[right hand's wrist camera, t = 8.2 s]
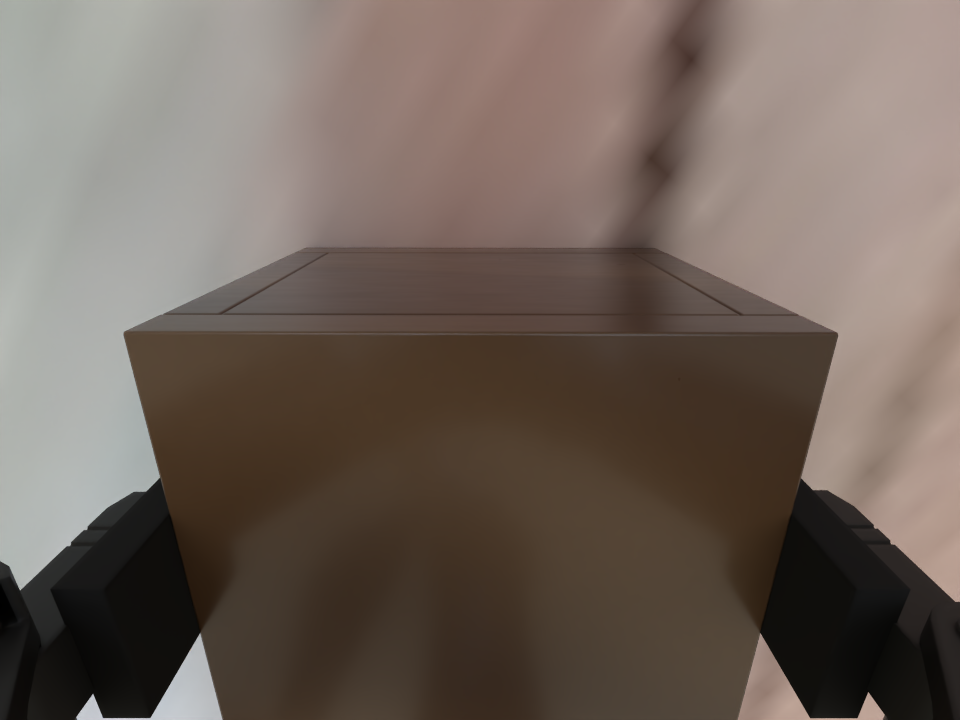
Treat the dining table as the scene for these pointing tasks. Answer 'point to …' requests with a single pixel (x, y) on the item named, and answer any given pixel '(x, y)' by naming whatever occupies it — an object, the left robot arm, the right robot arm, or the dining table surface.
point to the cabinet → (480, 480)
